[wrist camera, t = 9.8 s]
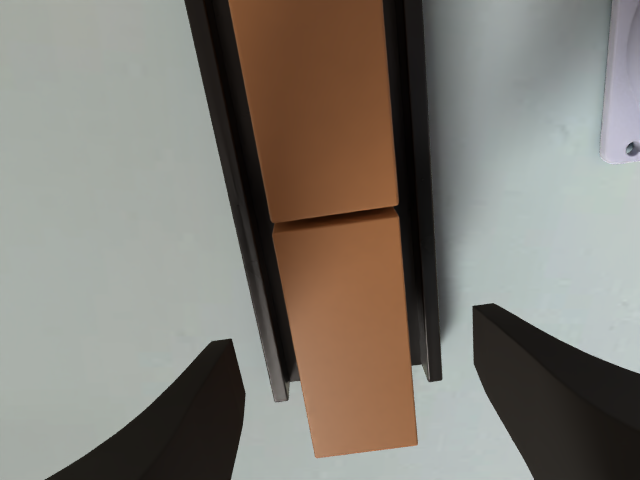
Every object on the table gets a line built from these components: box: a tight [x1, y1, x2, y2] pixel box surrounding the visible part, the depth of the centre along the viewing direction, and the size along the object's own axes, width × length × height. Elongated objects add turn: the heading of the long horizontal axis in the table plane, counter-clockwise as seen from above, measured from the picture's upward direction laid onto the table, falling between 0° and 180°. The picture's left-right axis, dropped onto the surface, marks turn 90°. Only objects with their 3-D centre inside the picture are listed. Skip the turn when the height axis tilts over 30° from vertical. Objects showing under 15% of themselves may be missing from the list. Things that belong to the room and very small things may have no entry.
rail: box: [184, 0, 442, 402], centre depth 16 cm, size 7×18×2 cm, turn 8°
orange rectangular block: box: [272, 206, 418, 458], centre depth 16 cm, size 3×8×5 cm, turn 8°
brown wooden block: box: [228, 0, 399, 223], centre depth 13 cm, size 3×8×5 cm, turn 8°
